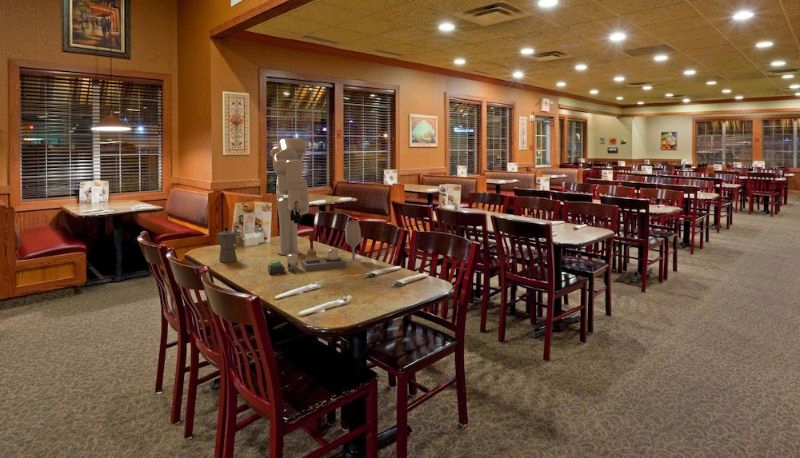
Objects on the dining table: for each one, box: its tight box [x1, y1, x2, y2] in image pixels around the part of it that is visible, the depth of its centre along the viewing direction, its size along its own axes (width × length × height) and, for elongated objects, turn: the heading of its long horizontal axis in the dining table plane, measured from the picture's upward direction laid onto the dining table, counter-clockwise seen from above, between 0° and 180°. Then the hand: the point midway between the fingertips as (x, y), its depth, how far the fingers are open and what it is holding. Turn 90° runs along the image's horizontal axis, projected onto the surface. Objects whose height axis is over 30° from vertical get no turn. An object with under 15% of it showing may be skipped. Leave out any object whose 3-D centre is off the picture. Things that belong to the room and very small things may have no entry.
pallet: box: [300, 256, 347, 272], centre depth 250 cm, size 12×20×4 cm, turn 112°
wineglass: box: [344, 220, 362, 263], centre depth 263 cm, size 9×9×21 cm
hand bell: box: [304, 230, 320, 260], centre depth 265 cm, size 8×8×16 cm
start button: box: [270, 260, 282, 268], centre depth 242 cm, size 4×4×2 cm
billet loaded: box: [327, 248, 339, 262], centre depth 252 cm, size 5×5×8 cm
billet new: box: [286, 254, 299, 273], centre depth 244 cm, size 5×5×8 cm
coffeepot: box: [216, 227, 238, 264], centre depth 267 cm, size 15×9×18 cm, turn 8°
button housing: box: [267, 263, 286, 276], centre depth 242 cm, size 7×7×3 cm
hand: (295, 221), depth 242 cm, fingers open, 9 cm apart
